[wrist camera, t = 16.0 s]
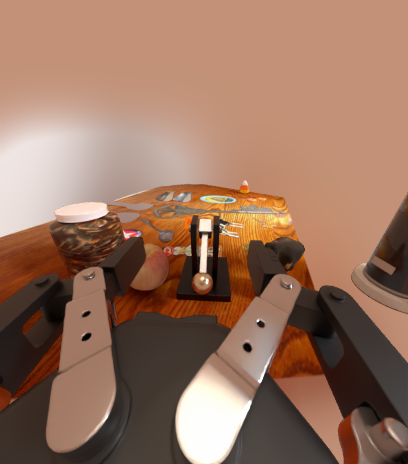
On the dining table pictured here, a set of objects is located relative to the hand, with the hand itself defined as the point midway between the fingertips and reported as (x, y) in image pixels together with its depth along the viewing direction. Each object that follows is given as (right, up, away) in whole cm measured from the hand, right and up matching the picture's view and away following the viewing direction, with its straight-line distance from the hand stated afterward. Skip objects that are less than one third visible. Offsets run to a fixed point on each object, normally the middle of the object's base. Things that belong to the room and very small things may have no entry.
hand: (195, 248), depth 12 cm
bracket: (+1, -9, +23) cm, 25 cm away
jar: (-23, -8, +26) cm, 35 cm away
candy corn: (+27, +27, +95) cm, 103 cm away
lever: (+1, -3, +16) cm, 17 cm away
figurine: (+14, -11, +20) cm, 27 cm away
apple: (-11, -10, +22) cm, 26 cm away
